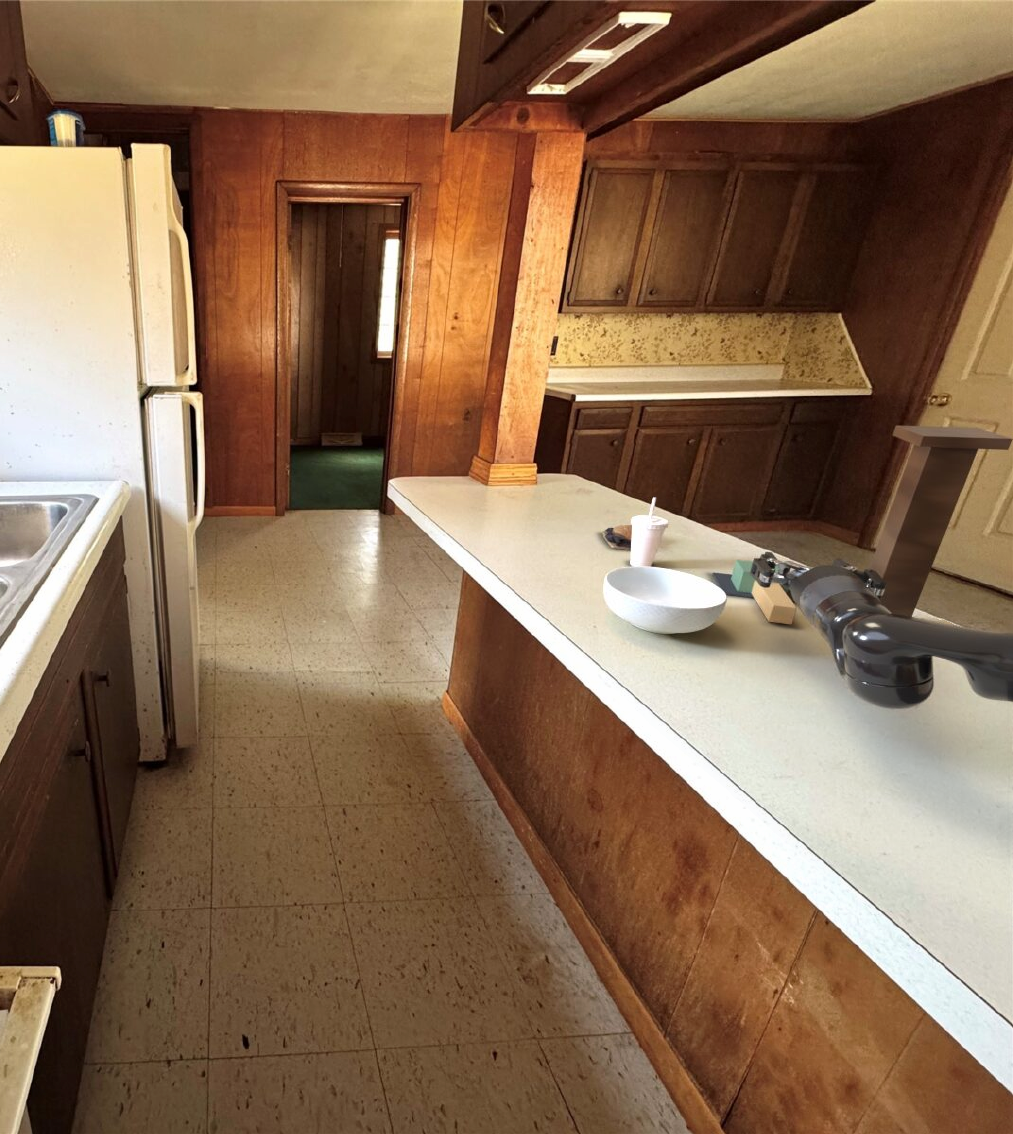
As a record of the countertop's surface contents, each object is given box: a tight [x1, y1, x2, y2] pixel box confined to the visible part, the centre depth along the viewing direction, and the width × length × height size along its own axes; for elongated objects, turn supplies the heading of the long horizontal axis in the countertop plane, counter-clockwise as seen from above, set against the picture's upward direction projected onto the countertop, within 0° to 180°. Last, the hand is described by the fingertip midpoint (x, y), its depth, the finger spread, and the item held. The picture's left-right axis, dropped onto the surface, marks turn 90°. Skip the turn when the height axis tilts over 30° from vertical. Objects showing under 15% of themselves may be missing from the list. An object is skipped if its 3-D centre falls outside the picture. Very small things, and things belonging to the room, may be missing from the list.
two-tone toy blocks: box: [731, 559, 798, 625], centre depth 108 cm, size 7×18×4 cm, turn 155°
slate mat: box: [711, 572, 796, 604], centre depth 114 cm, size 12×10×1 cm
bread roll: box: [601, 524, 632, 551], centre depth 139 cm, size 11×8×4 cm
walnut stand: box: [868, 425, 1013, 617], centre depth 95 cm, size 9×9×31 cm
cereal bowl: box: [602, 565, 728, 635], centre depth 102 cm, size 17×17×7 cm
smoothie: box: [629, 497, 670, 567], centre depth 124 cm, size 6×6×14 cm
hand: (800, 560), depth 97 cm, fingers open, 8 cm apart
